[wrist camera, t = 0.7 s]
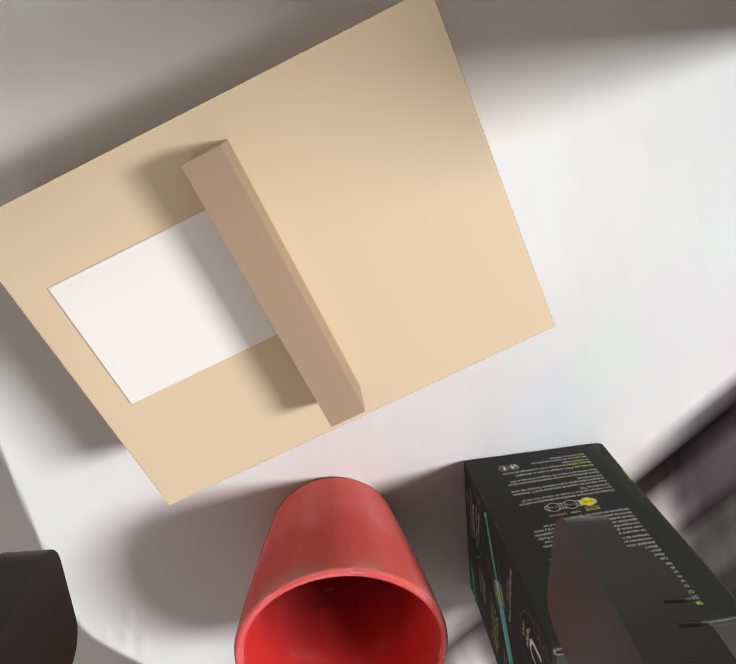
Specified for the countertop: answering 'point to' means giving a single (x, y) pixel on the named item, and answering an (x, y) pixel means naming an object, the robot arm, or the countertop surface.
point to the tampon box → (535, 538)
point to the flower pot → (339, 585)
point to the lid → (279, 255)
